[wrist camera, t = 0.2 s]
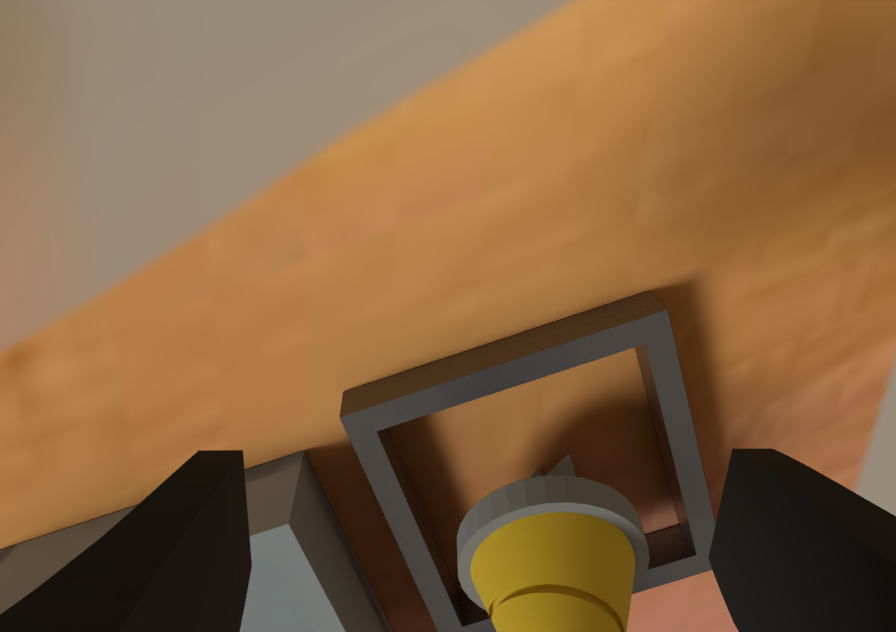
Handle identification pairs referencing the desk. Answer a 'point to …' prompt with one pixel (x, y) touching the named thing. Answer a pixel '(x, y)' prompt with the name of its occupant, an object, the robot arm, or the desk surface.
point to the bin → (272, 553)
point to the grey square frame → (510, 365)
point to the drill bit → (553, 554)
